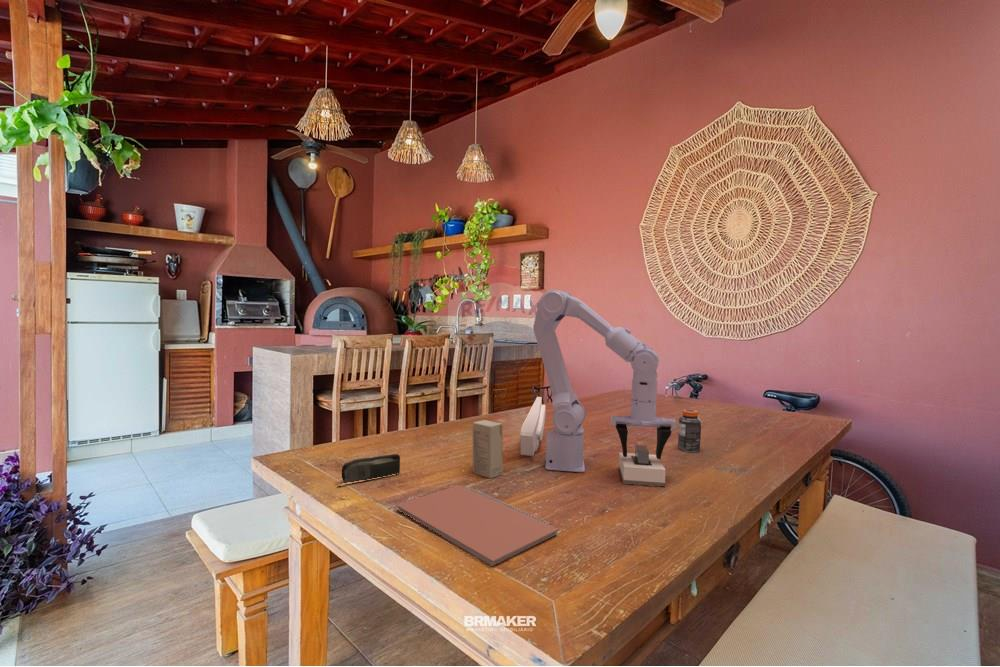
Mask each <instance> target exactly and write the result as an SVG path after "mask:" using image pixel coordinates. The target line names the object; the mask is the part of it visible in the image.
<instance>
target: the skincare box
mask: <svg viewBox="0 0 1000 667" xmlns="http://www.w3.org/2000/svg"><path fill="white" fill-rule="evenodd" d="M503 428H504V426H503V423H501V422H497V421H491V420H486V419H483V420H478V421H474V422H472V473H474V474H475V475H476V474H477V475H479V476H483V477H485V478H488V479H493V478H495V477H499V476H501V475H503V474H504V473H503V472H504V470H503V466H504V465H503V464H504V460H503V459H504V458H503V456H504V454H503V451H504V450H503V449H504V448H503V446H504V445H503V444H504V443H503V440H504V438H503V434H504V433H503Z"/></svg>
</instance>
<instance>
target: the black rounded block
mask: <svg viewBox="0 0 1000 667" xmlns="http://www.w3.org/2000/svg"><path fill="white" fill-rule="evenodd" d="M400 470H401V457H400V455H399V454H397V453H394V454H386V455H379V456H371V457H363V458H356V459H353V460H351V461H348V462H345V463H344V464H343V465H342V468H341V479H342V480H343V482H342V483H347V482H354V481H359V480H367V479H372V478H377V477H383V476H388V475H392V474H397V473H399V474H400ZM397 475H398V474H397Z"/></svg>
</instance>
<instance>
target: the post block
mask: <svg viewBox="0 0 1000 667" xmlns="http://www.w3.org/2000/svg"><path fill="white" fill-rule="evenodd" d="M618 454H619V455H618V470H620V471H619V473H621V474H620V476H621V479H622V483H624V484H623V485H628V484H634V485H633V486H641V485H653V486H652V487H655V486H665V487H666V470H667V469H666V468H665V466H664V464H663V463H662V460H661V459H657V457H656V454H650V453H649V464H648V465H635V452H627V457H624V456H623V452H622V451H621V452H619V453H618ZM636 484H638V485H636Z"/></svg>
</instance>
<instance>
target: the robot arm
mask: <svg viewBox="0 0 1000 667" xmlns="http://www.w3.org/2000/svg"><path fill="white" fill-rule="evenodd" d="M566 317H571V318H577V319H579V320H580V321H582V322H583V323H585V324H586V325H587V326H589V327H590V328H591V329H593V330H594V331H595V332H596V333H598V334H600V335H601V337H604V340H605V346H606V347H607V348H609V349H610V350H611V351H612V352H614V353H615V354H616V355H617V356H619V357H620V358H621V359H622V360H624V361H625V362H627V363H630V365H631V368H632V372H633V373H632V380H631V394H630V395H631V396H630V397H631V400H630V415H611V416H610V425H611V426H613V427H614V426H615V429H616V430H617V433H618V434H617V435H618V437H619V440H620V443H621V448H622V453H623V456H624V457H627V453H628V446H627V444H628V433H629V431H628V426H629V427H641V428H642V427H644V428H656V447H655V448H656V450H655V455H656V457H657V459H660V460H661V458H662V455H663V454H662V453H663V451H664V448H665V445H666V444H667V442H668V440H669V439H670V437H671V435H672V430H676V428H677V427H676V426H677V420H676V419H674V418H664V417H659V416H658V417H657V401H658V399H657V398H658V396H657V395H658V380H657V379H658V373H657V372H658V371H657V369H658V367H659V362H660V359H659V356H658V354H657V352H656V351H655V350H654V349H653V348H652V347H648V346H647V345H648V344H647V343H646V342H644V341H643V342H642V341H641V340H639V339H638V338H636V337H635V336H634V335H633V334H631V333H632V330H631V329H629V328H627V327H626V328H624V327H623V326H617V327H614V326H612V325H611V324H610V323H609V322H608V321H606V320H605V319H604V318H603V317H602V316H600V314H598V313H597V312H596V311H595V310H593V308H591V307H590V306H589V305H587V304H586V303H585V302H584V301H582V300H581V299H579V298H577V297H576V296H574V295H573V296H572V294H570V293H569V292H568V291H566V290H558V289H549V290H547V291H545V292H544V293H543V294H542V296H540V298H539V300H538V301H537V303H536V313H535V317H534V322H533V327H532V328H533V332H534V336H535V340H536V343H537V347H538V349H539V354H540V357H541V359H542V363H543V366H544V370H545V373H546V377H547V379H548V384H549V387H550V391H551V394H552V406H551V407H552V410H553V417H552V423H553V425H554V429H553V430H552V429H551V430H550V429H549V430H546V440H545V441H546V442H545V444H546V445H545V452H544V461H545V466H544V467H545V470H547V471H558V472H560V471H563V472H573V473H575V472H576V473H585V472H586V468H585V467H586V466H585V461H584V446H585V445H584V444H585V442H584V441H585V440H584V439H585V438H584V436H585V429H584V428H583V426H582V424H583V422H584V421H585V419H586V416H587V412H586V409H585V408H584V406H583V405H582V403H581V402H580V401H579V399H578V396H577V394H576V393H575V391H574V390H573V387H572V383H571V380H570V376H569V373H568V371H567V367H566V363H565V359H564V356H563V353H562V350H561V346H560V343H559V340H558V337H557V333H556V329H557V328H558V326H559V325H560V324H561V321H562V320H563V319H564V318H566Z"/></svg>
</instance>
